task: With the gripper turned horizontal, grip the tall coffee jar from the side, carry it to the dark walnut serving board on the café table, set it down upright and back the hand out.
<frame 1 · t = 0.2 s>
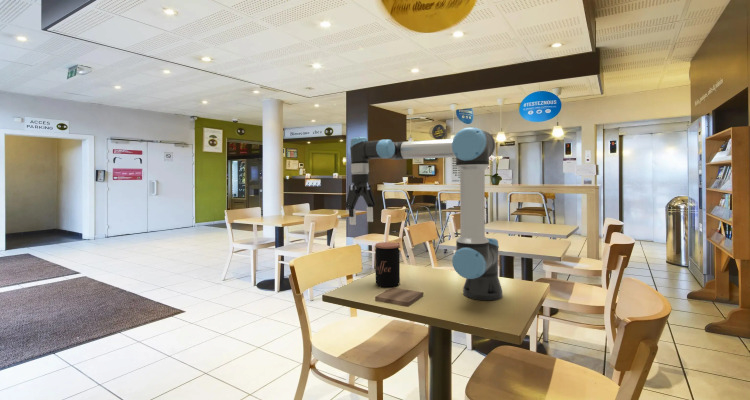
hand: (361, 223, 165), 28 cm above the table, tool pointing down, fingers open, 13 cm apart
walnut board: (399, 298, 150), on the table
coffee jar: (387, 285, 168), on the table
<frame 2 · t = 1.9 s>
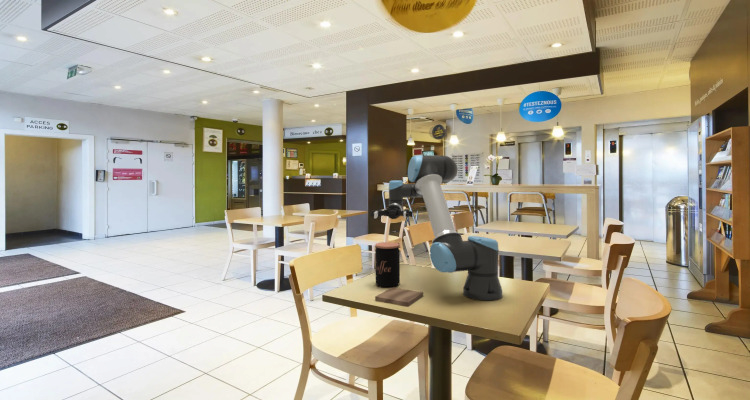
hand: (389, 215, 176), 30 cm above the table, tool horizontal, fingers open, 13 cm apart
nothing on the table moved.
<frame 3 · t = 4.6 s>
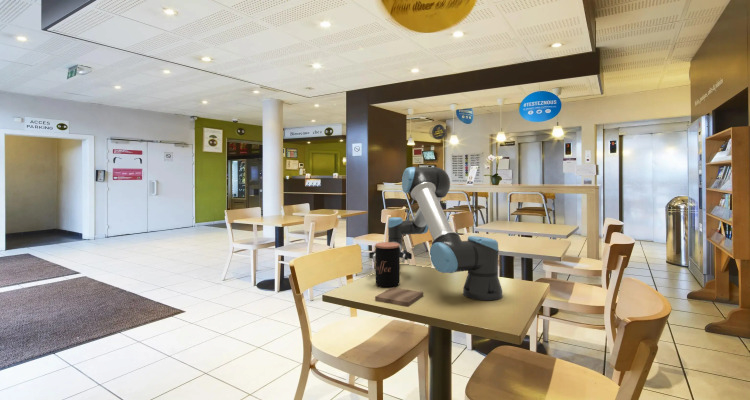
hand: (388, 259, 174), 10 cm above the table, tool horizontal, fingers open, 13 cm apart
nothing on the table moved.
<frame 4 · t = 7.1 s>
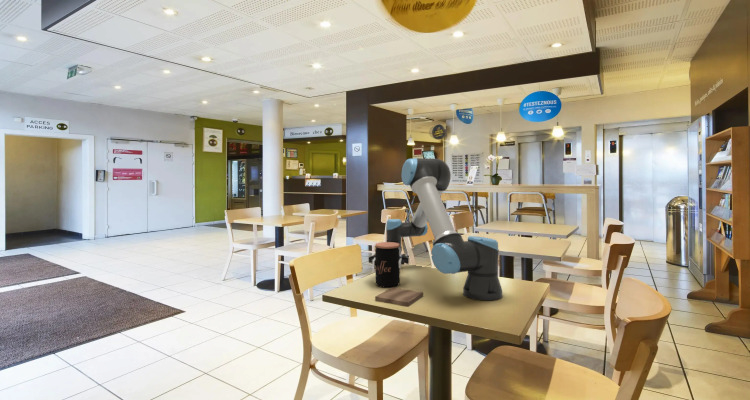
hand: (386, 264, 164), 10 cm above the table, tool horizontal, fingers closed on coffee jar, 11 cm apart
coffee jar: (387, 285, 168), on the table, touching gripper
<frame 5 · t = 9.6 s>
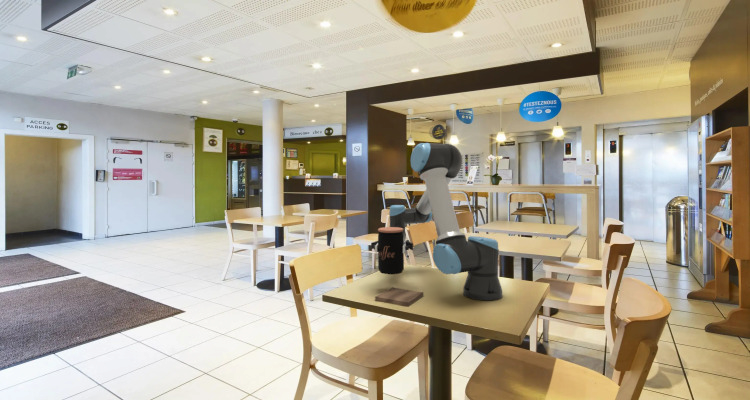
hand: (389, 249, 155), 18 cm above the table, tool horizontal, fingers closed on coffee jar, 11 cm apart
coffee jar: (391, 272, 160), point 8 cm above the table, touching gripper
when the fingers open (13 cm above the table, at t = 12.1 s): coffee jar drops 1 cm, resting on walnut board.
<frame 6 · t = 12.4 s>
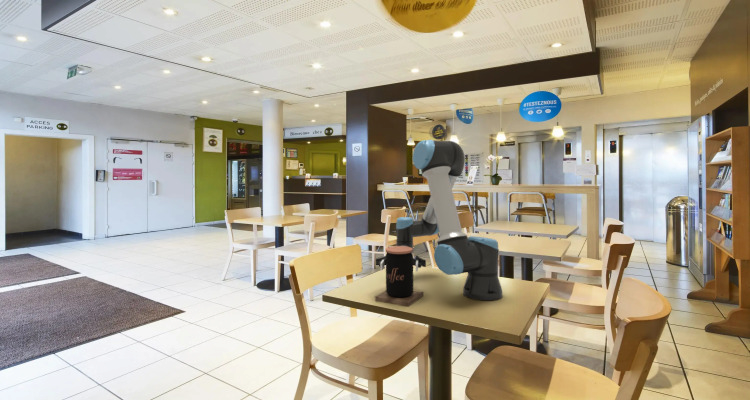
hand: (398, 267, 146), 13 cm above the table, tool horizontal, fingers open, 13 cm apart
coffee jar: (399, 294, 150), point 1 cm above the table, touching walnut board
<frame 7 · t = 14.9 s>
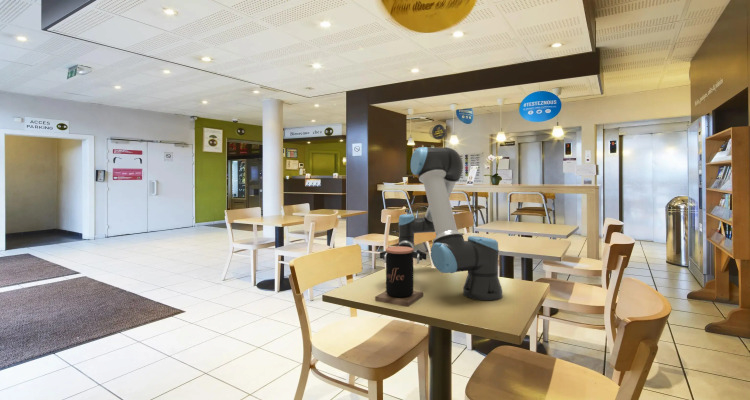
hand: (401, 259, 159), 13 cm above the table, tool horizontal, fingers open, 13 cm apart
nothing on the table moved.
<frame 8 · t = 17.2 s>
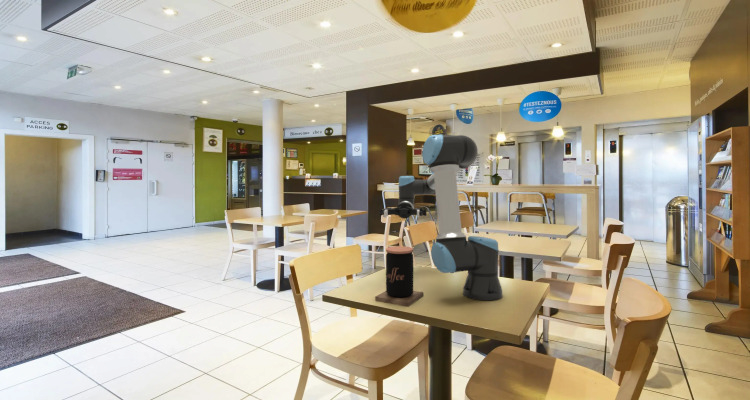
hand: (401, 214, 157), 32 cm above the table, tool horizontal, fingers open, 13 cm apart
nothing on the table moved.
at the end: coffee jar inside the target area on the walnut board (0.1 cm from its centre), point 1.3 cm above the walnut board's base; coffee jar tilted 0°; the gripper is holding nothing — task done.
